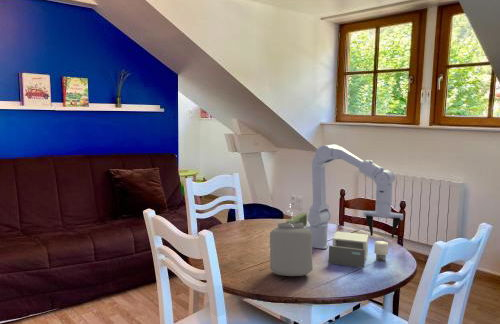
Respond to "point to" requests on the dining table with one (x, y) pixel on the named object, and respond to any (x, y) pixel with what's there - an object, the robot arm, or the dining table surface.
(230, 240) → the dining table surface
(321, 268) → the dining table surface
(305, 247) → the jar
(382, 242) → the cream cylinder
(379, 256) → the stand
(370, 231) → the robot arm
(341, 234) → the box
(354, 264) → the grey box with handle
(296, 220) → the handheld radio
